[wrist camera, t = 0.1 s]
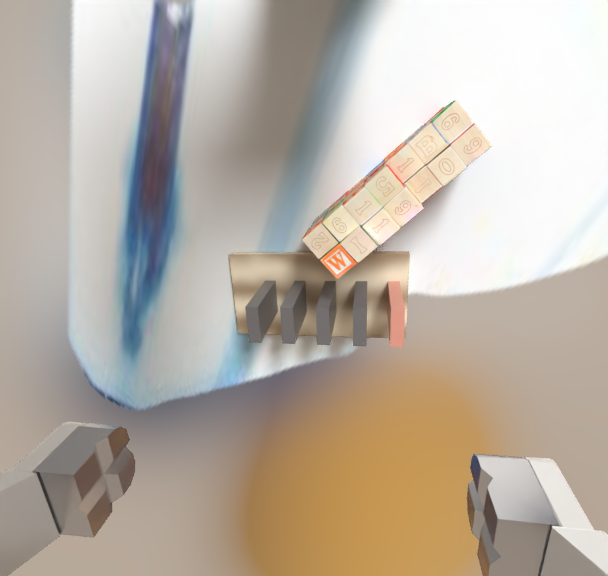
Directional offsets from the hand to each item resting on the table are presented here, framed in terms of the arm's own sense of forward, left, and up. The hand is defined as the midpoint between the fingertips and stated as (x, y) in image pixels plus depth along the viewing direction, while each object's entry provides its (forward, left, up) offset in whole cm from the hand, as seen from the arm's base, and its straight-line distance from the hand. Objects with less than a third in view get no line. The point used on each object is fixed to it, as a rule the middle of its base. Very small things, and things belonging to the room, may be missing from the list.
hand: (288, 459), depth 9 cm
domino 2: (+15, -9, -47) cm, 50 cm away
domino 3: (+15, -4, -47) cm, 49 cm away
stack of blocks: (-1, +4, -48) cm, 49 cm away
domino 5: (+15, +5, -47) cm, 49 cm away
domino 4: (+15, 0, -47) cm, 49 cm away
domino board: (+15, -6, -48) cm, 51 cm away
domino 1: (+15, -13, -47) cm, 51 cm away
